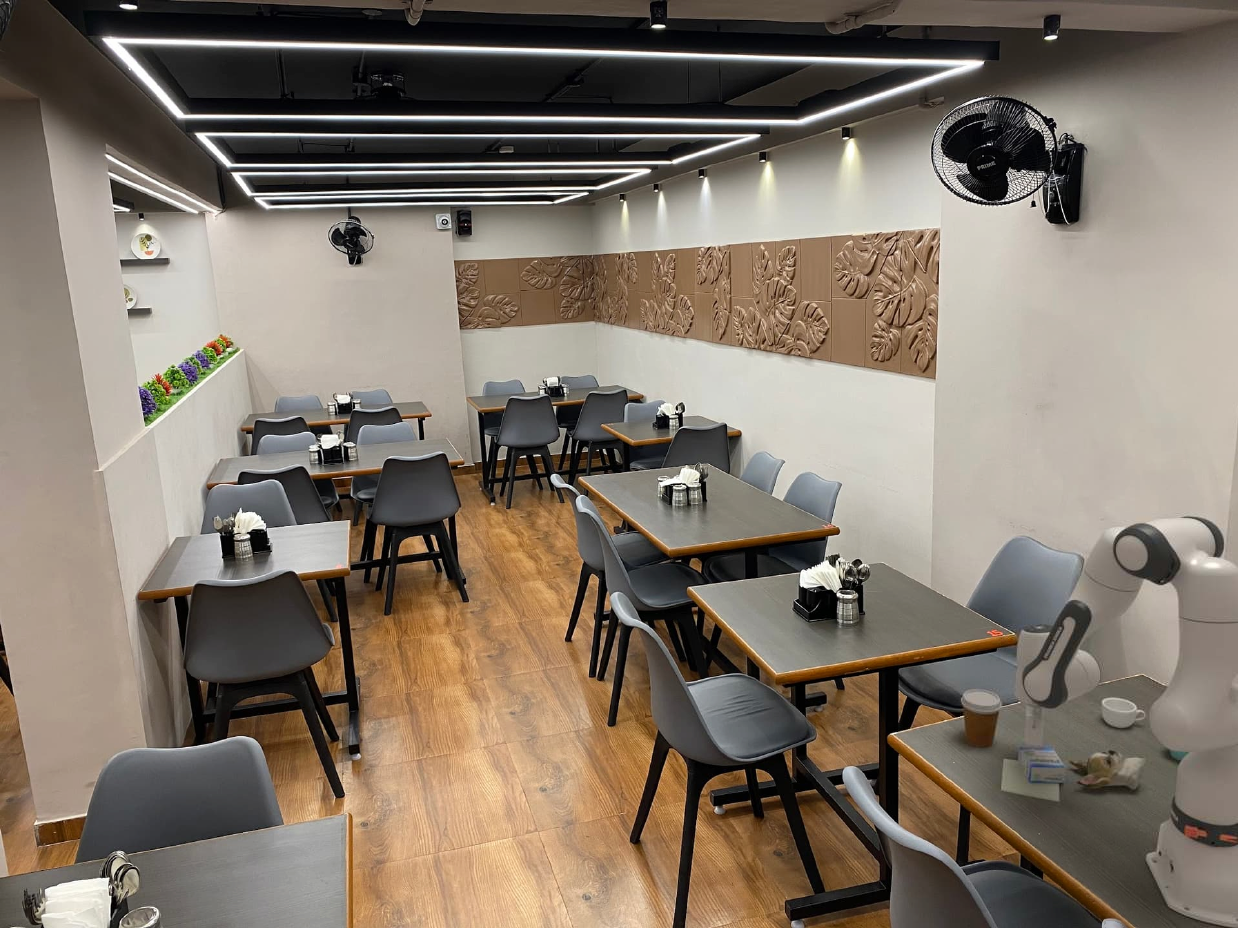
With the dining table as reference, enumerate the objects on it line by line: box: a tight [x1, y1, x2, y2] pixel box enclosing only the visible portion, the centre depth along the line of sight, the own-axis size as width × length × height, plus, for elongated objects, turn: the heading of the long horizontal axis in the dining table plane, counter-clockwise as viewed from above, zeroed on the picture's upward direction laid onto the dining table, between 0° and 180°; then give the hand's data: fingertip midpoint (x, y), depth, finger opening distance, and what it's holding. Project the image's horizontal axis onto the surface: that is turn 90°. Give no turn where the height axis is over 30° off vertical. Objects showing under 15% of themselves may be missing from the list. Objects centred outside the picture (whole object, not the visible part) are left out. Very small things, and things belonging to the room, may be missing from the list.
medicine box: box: [1017, 746, 1066, 784], centre depth 210 cm, size 8×4×9 cm
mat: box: [1000, 758, 1060, 803], centre depth 209 cm, size 14×12×1 cm
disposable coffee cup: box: [960, 688, 1003, 748], centre depth 225 cm, size 10×10×12 cm
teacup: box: [1101, 697, 1146, 729], centre depth 230 cm, size 10×8×5 cm
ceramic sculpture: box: [1068, 749, 1146, 791], centre depth 206 cm, size 11×9×15 cm
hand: (1032, 744), depth 212 cm, fingers closed
